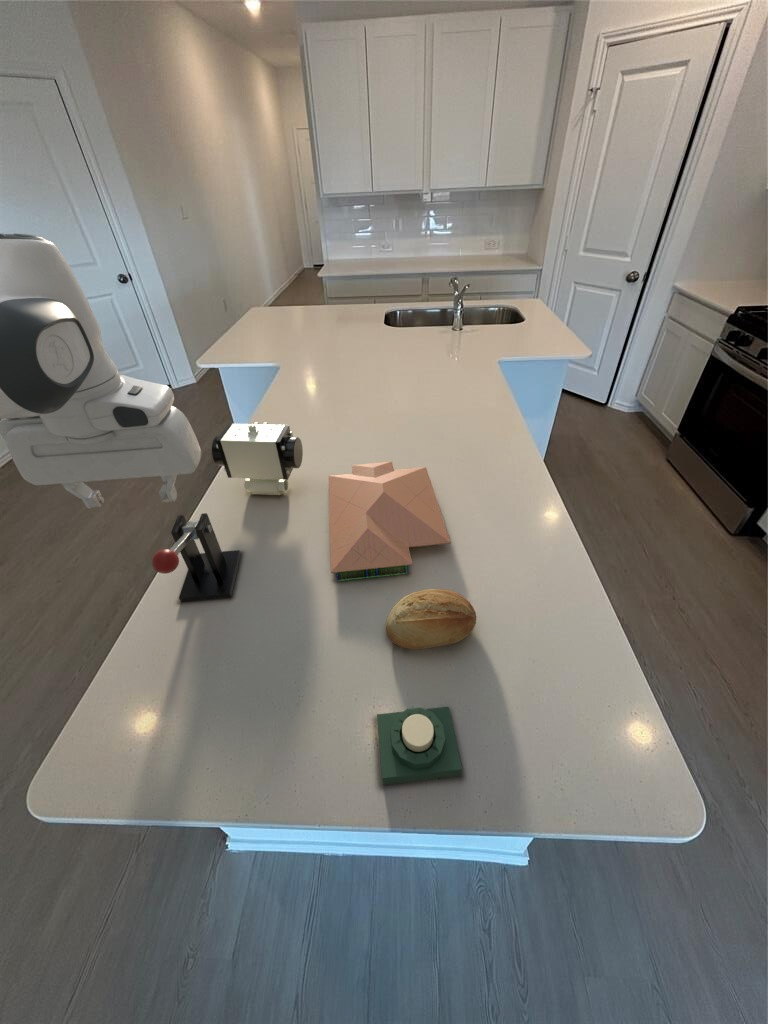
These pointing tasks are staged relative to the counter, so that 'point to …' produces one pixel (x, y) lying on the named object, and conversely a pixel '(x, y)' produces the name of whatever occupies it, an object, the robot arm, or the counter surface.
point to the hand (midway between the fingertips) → (133, 502)
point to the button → (417, 733)
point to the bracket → (206, 564)
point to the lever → (174, 550)
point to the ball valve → (258, 455)
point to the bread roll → (430, 619)
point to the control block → (417, 765)
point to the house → (381, 517)
